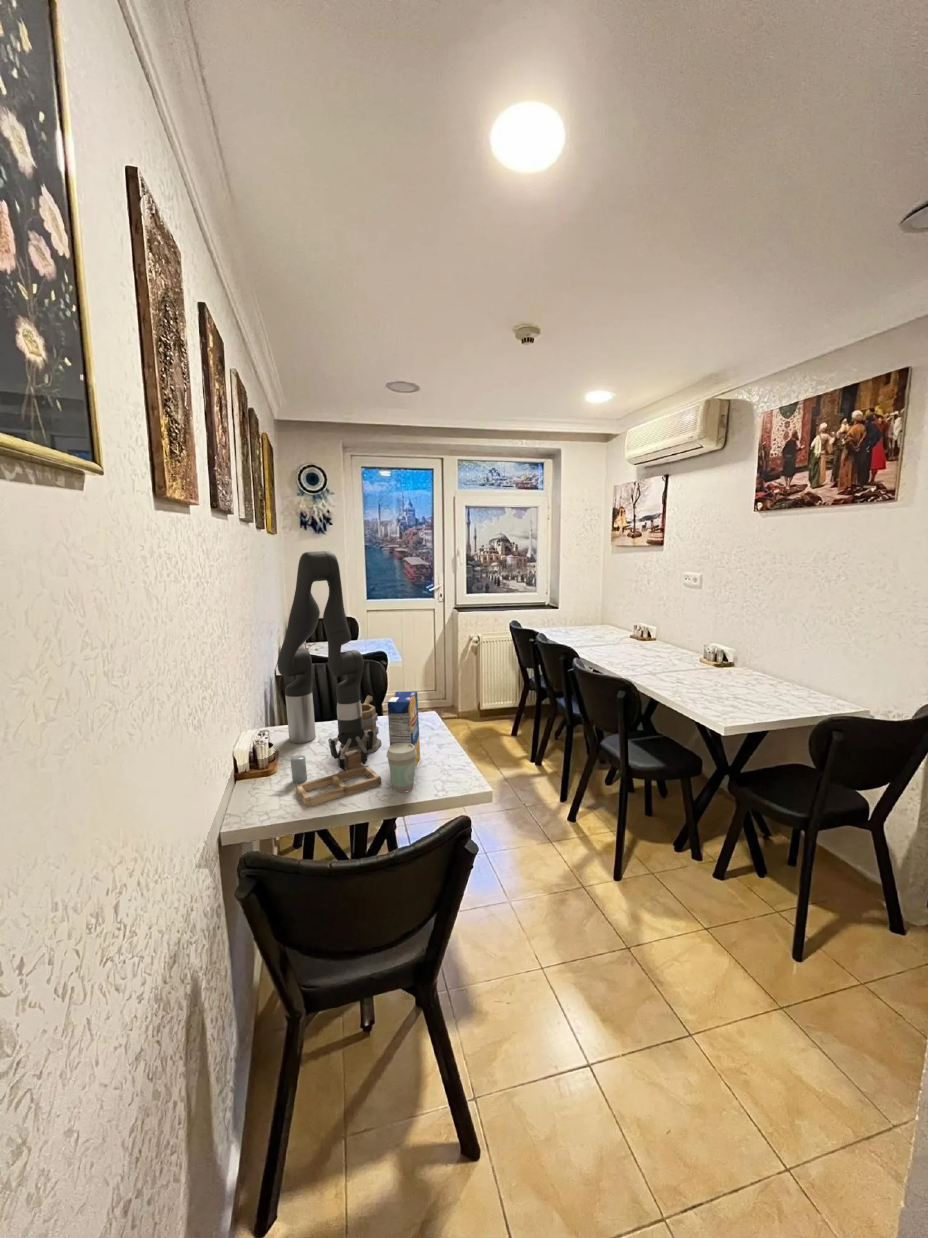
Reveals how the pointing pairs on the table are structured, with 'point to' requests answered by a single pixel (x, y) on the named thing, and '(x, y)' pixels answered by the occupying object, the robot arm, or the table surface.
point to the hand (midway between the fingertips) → (353, 766)
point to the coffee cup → (402, 766)
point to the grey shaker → (298, 769)
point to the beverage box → (404, 720)
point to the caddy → (337, 785)
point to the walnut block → (352, 760)
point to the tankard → (369, 725)
